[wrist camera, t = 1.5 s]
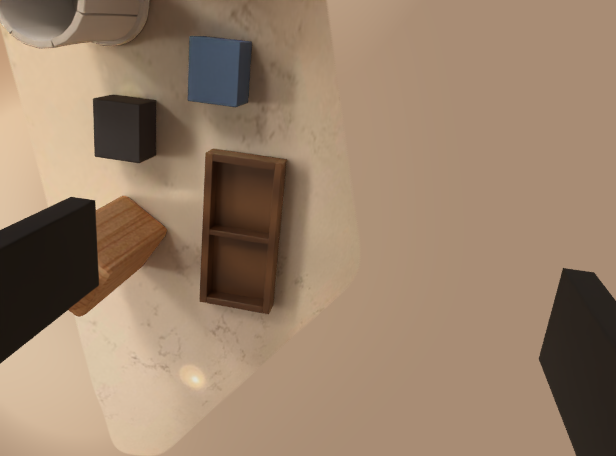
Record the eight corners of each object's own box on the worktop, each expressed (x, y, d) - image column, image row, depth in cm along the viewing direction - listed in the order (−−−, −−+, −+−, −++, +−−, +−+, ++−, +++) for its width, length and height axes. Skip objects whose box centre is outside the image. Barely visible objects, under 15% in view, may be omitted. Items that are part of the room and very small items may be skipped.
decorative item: (141, 268, 65) (33, 359, 47) (97, 232, 65) (-30, 310, 46) (171, 229, 63) (69, 309, 45) (125, 191, 63) (3, 257, 44)
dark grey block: (112, 94, 59) (92, 98, 55) (156, 100, 58) (139, 104, 55) (113, 149, 61) (94, 156, 57) (156, 155, 61) (139, 163, 57)
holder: (212, 148, 59) (205, 152, 57) (287, 159, 58) (282, 163, 56) (206, 293, 65) (199, 301, 63) (273, 305, 64) (268, 314, 62)
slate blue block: (204, 36, 55) (189, 36, 52) (252, 41, 55) (240, 42, 51) (202, 96, 57) (187, 100, 54) (248, 102, 57) (236, 107, 53)
